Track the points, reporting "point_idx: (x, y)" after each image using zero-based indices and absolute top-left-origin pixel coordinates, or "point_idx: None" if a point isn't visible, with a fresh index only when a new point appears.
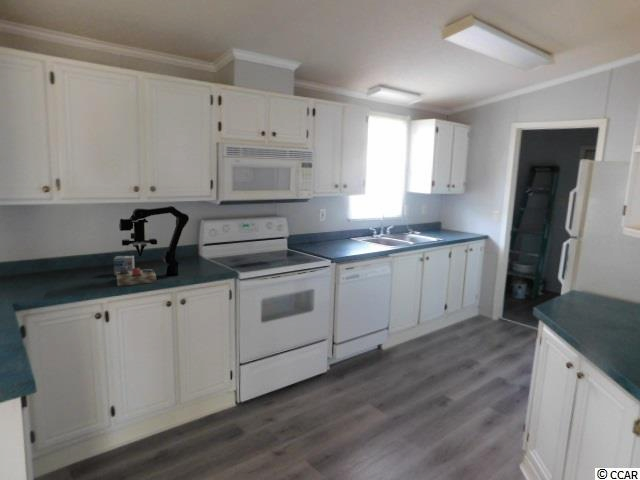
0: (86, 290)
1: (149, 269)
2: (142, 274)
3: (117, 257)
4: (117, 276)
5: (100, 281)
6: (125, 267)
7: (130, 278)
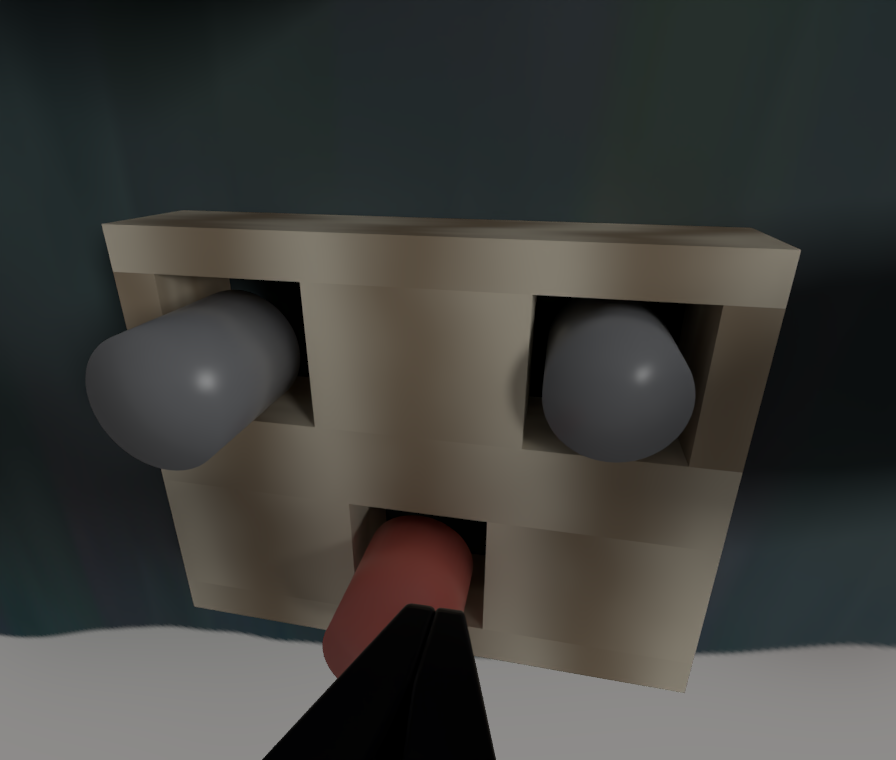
0: (14, 555)
1: (683, 405)
2: (506, 556)
3: None
4: (174, 502)
5: (18, 260)
6: (196, 465)
7: None
